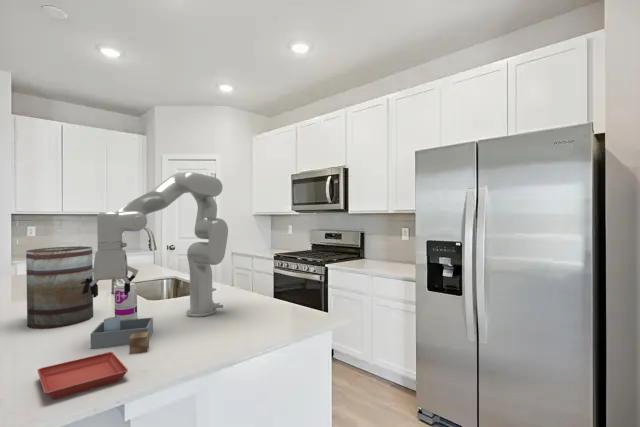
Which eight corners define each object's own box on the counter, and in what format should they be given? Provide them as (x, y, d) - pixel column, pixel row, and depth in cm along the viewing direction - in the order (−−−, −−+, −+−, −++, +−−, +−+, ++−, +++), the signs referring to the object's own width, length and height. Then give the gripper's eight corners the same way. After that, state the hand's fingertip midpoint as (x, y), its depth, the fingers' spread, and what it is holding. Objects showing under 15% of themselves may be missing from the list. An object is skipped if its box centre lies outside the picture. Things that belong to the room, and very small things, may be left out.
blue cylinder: (121, 335, 129) (121, 316, 129) (118, 340, 124) (118, 320, 124) (106, 337, 128) (105, 317, 127) (102, 342, 123) (102, 321, 123)
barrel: (105, 314, 158) (104, 246, 158) (57, 331, 136) (56, 252, 136) (65, 311, 164) (64, 246, 164) (12, 326, 142) (11, 251, 142)
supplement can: (127, 323, 145) (127, 286, 145) (110, 322, 146) (109, 286, 146) (141, 317, 153) (141, 282, 153) (124, 316, 154) (124, 282, 154)
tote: (153, 330, 136) (152, 317, 136) (147, 342, 123) (147, 328, 123) (101, 335, 131) (101, 322, 131) (90, 348, 118) (90, 333, 118)
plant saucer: (112, 361, 109) (112, 350, 109) (129, 381, 96) (129, 369, 96) (37, 380, 97) (36, 368, 97) (44, 407, 84) (44, 393, 84)
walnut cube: (148, 346, 120) (148, 331, 120) (146, 352, 115) (146, 336, 115) (132, 348, 118) (132, 333, 118) (129, 354, 114) (129, 338, 114)
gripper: (139, 244, 132) (140, 291, 132) (85, 247, 126) (86, 295, 127) (135, 246, 125) (136, 295, 125) (78, 249, 119) (79, 300, 120)
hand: (111, 295), depth 126 cm, fingers open, 9 cm apart
